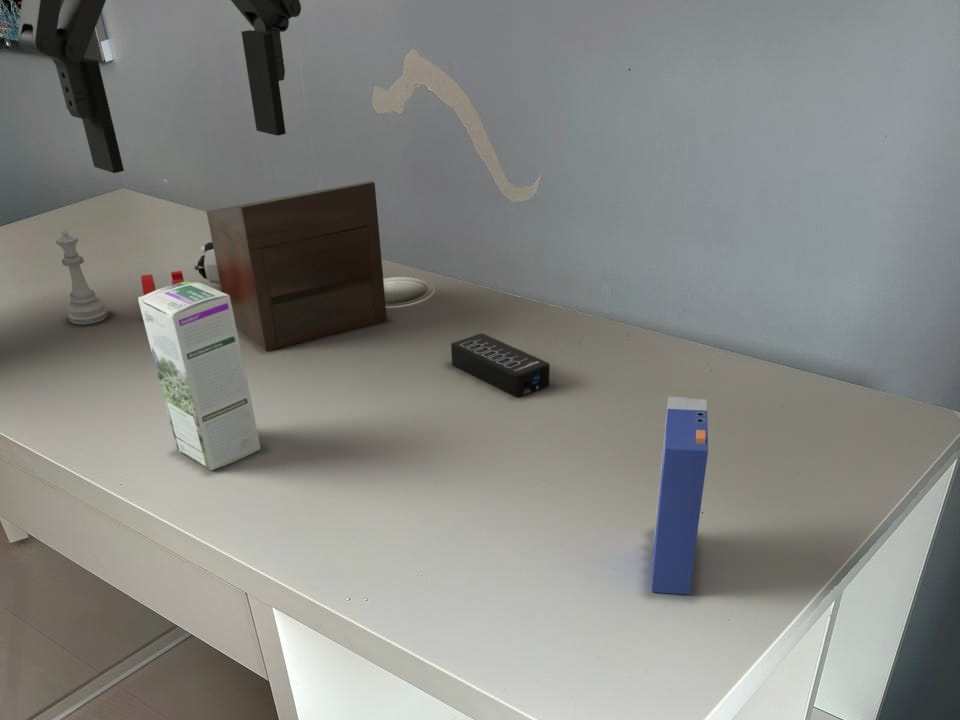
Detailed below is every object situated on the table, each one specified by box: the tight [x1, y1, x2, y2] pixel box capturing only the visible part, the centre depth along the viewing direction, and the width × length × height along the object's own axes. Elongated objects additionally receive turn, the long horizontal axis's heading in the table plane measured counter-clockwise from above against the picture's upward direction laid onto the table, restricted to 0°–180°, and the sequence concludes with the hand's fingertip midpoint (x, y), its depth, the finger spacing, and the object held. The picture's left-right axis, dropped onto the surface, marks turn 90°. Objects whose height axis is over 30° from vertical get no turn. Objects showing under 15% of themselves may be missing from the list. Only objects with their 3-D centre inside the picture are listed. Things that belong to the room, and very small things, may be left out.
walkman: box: [651, 396, 709, 595], centre depth 70 cm, size 8×3×12 cm, turn 170°
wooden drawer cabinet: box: [206, 180, 388, 352], centre depth 110 cm, size 12×15×15 cm
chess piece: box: [55, 230, 109, 326], centre depth 114 cm, size 4×4×10 cm
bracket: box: [140, 270, 185, 296], centre depth 118 cm, size 6×5×3 cm
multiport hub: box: [450, 333, 551, 398], centre depth 100 cm, size 4×11×2 cm, turn 39°
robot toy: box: [192, 241, 221, 287], centre depth 125 cm, size 12×4×15 cm
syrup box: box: [137, 279, 261, 471], centre depth 85 cm, size 6×6×14 cm
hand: (194, 150), depth 71 cm, fingers open, 13 cm apart
